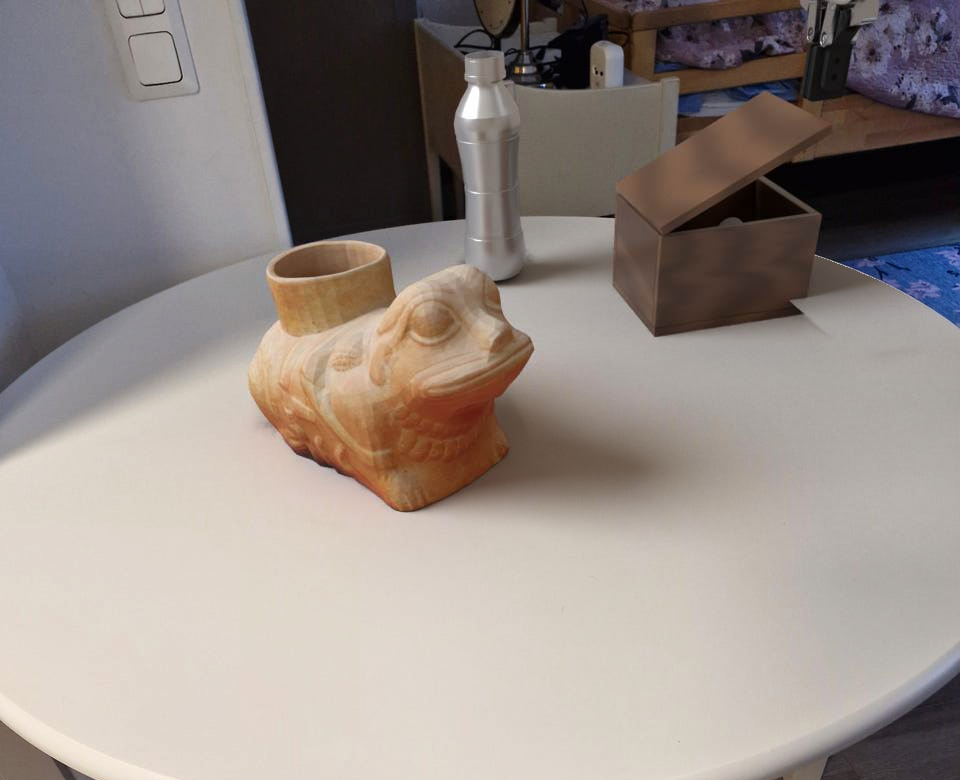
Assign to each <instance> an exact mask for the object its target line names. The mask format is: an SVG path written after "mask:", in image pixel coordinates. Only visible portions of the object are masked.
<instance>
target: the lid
mask: <svg viewBox="0 0 960 780" xmlns="http://www.w3.org/2000/svg"><path fill="white" fill-rule="evenodd" d="M833 133H834V130H833V125H832V123H831V122H828V121H827V120H824V119H823V118H821V117H819V116H817V115H815V114H813V113H811V112H809V111H807V110H805V109H803V108H801V107H799V106H797V105H795V104H792V103H791V102H788V101H787V100H785V99H783V98H780V97H778V96H777V95H775V94H772V93H771V92H769V91H767V90H763V91H761V93H759V94H757V95H755V96H754V97H752V98H751V99H749V100H748V101H746V102H744V103H743V104H741V105H739V106H738V107H736V108H735V109H733V110H732V111H730V112H728V113H727V114H725V115H723V116H721V118H718V119H717V120H715V121H714V122H713V123H711V124H709V125H707V126H706V127H704V128H703V129H701V130H699V131H698V132H696V133H694V134H693V135H691V136H690V137H688V138H687V139H685V140H683V141H682V142H680V143H679V144H677V145H675V146H674V147H672V148H670V149H669V150H668V151H666V152H664V153H663V154H661V155H659V156H658V157H656V158H655V159H653V160H651V161H650V162H648V163H647V164H645V165H644V166H642V167H640V168H639V169H637V170H635V171H634V172H632V173H631V174H629V175H627V176H626V177H624V178H623V179H621V180H620V181H618V182H616V183H615V184H614V187H615V190H616V192H617V193H619V194H620V195H621V196H622V197H623V198H624V199H625V200H626V201H627V202H629V203H630V204H631V205H632V206H633V207H634V208H635V209H636V210H637V211H638V212H639V213H640V214H641V215H642V216H643V217H644V218H645V219H646V220H647V221H648V222H649V223H651V224H652V225H653V226H654V227H655V228H656V229H657V230H658V231H659V232H660V233H661V234H662V235H663V236H664V235H665V234H667V233H669V232H670V231H672V230H674V229H675V228H677V227H679V226H680V225H682V224H684V223H685V222H687V221H689V220H690V219H692V218H694V217H695V216H697V215H698V214H700V213H702V212H703V211H705V210H707V209H708V208H710V207H712V206H713V205H715V204H717V203H718V202H720V201H722V200H723V199H725V198H727V197H728V196H730V195H731V194H733V193H735V192H736V191H738V190H740V189H741V188H743V187H745V186H746V185H748V184H750V183H751V182H753V181H755V180H756V179H758V178H759V177H761V176H764V175H766V174H768V173H770V172H772V171H773V170H775V169H776V168H777V167H779V166H781V165H783V164H784V163H786V162H788V161H789V160H791V159H792V158H795V157H796V156H798V155H800V153H802V152H804V151H806V150H807V149H809V148H811V147H812V146H814V145H816V144H818V143H819V142H821V141H822V140H824V139H826V138H827V137H829V136H831V135H832V134H833Z"/></svg>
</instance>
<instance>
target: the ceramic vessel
mask: <svg viewBox="0 0 960 780" xmlns="http://www.w3.org/2000/svg"><path fill="white" fill-rule="evenodd" d="M265 274H266V275H265V276H266V280H267V283H268V287H269V289H270V290H269V291H270V293H271V296H272V299H273V302H274V305H275V307H276V310H277V315H278V320H276V322H274V323H273V325H271V327H270V328H269V329H268V330H267V331H266V332H265V334H264V335H263V337H262V339H261V340H260V342H259V345H258V347H257V350H256V352H255V355H254V356H253V358H252V360H251V362H250V364H249V366H248V369H247V381H248V389H249V392H250V395H251V398H252V399H253V402H254V403H255V404H256V406H257V407H258V408H259V410H260V412H261V413H262V415H263V416H264V417H265V419H266V420H267V421H268V422H269V423H270V424H271V425H272V426H273V427H274V429H275V430H276V431H277V432H278V433H279V434H280V436H281V437H282V439H283V440H284V442H285V444H286V445H287V446H288V447H289V448H290V449H291V450H292V452H293V453H294V454H295V455H297V456H299V457H303V458H305V459H309V460H311V461H312V462H315V463H316V464H317V465H318V466H320V467H325V468H330V469H334V470H335V472H336V473H337V474H338V475H339V474H340V475H341V476H346V477H349V478H353V479H354V481H356V482H357V483H358V484H359V485H361V486H363V487H365V488H366V489H367V490H369V491H370V492H371V493H373V494H374V495H375V496H376V497H378V498H379V499H380V500H382V502H384V503H385V505H387V506H388V507H389V508H391V509H393V510H394V511H400V512H412V511H416V510H420V509H422V508H424V507H426V506H429V505H431V504H434V503H435V502H438V501H441V500H443V499H444V498H447V497H448V496H450V495H453V494H454V493H457V492H458V491H460V490H462V489H463V488H465V487H467V486H468V485H470V484H472V483H473V482H474V481H475V480H477V479H479V478H480V477H481V476H482V475H484V474H485V473H486V472H487V471H489V470H490V469H491V468H492V467H494V466H495V465H496V464H497V463H499V462H501V460H502V459H504V458H505V457H506V455H507V454H508V452H509V450H510V445H509V444H510V441H509V439H508V438H507V436H506V435H505V433H504V432H503V431H502V430H501V427H500V425H499V422H498V420H497V418H496V412H495V399H497V398H499V397H501V396H502V395H503V394H504V393H505V392H506V390H508V388H509V387H510V386H511V384H512V383H514V381H515V380H516V379H517V378H518V377H519V376H520V375H521V373H522V371H523V370H524V368H526V365H527V364H528V362H529V361H530V359H531V357H532V355H533V353H534V351H535V346H534V343H533V341H532V338H531V337H530V336H529V335H528V334H527V333H526V332H524V331H521V330H519V329H517V328H515V327H514V326H513V325H512V324H511V323H510V322H509V320H508V319H507V318H506V317H505V314H504V312H503V309H502V301H501V300H502V299H501V294H500V290H499V288H498V286H497V284H496V283H495V281H493V280H492V279H491V278H490V277H489V276H488V275H487V274H486V273H485V272H483V271H481V270H479V269H477V268H476V267H474V266H472V265H468V264H466V263H462V264H459V265H452V266H449V267H447V268H445V269H443V270H440V271H438V272H436V273H433V274H430V275H429V276H426V277H424V278H421V279H419V280H418V281H416V282H414V283H412V284H410V285H409V286H406V287H405V288H404V289H403V290H402V291H400V293H398V294H397V293H396V289H395V284H394V275H393V269H392V261H391V257H390V255H389V253H388V251H387V249H385V248H384V247H382V246H380V245H377V244H374V243H371V242H366V241H361V240H348V239H347V240H321V241H315V242H309V243H305V244H301V245H299V246H295V247H293V248H290V249H287V250H285V251H283V252H281V253H279V254H278V255H276V256H275V257H273V258H272V259H271V260H270V261H269V263H268V265H267V266H266V270H265Z"/></svg>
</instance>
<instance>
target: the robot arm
mask: <svg viewBox="0 0 960 780" xmlns="http://www.w3.org/2000/svg"><path fill="white" fill-rule="evenodd" d="M880 2H881V1H880V0H799V4H800V6H801V7H802V9H804V11H805V12H806V13H807V26H806V28H807V29H806V41H807V43H808V44H807V50H806V57H805V62H804V63H805V64H804V70H803V76H802V82H801V89H800V97H801V98H803V99H804V100H807V101H809V102H811V103H815V102H823V101H830V100H837V99H838V100H839V99H841V98H842V97H843V96H844V95H845V92H846V86H847V82H848V76H849V70H850V64H851V59H852V54H853V47H854V44H856V43H857V42H858V40H859V36H860V33H861V28H862V27H863V25H868V24H871V23H875V22H876V21H877V20H878V18H879V12H880Z"/></svg>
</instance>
